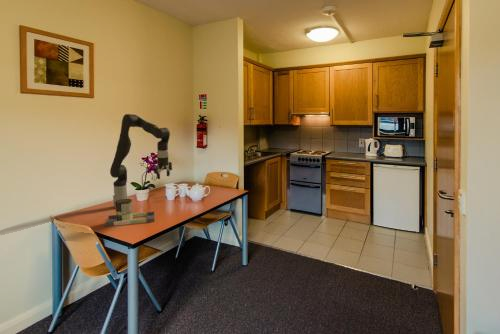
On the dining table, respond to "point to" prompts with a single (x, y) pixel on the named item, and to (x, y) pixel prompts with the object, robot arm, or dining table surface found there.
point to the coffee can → (124, 209)
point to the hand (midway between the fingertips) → (163, 177)
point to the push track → (113, 221)
